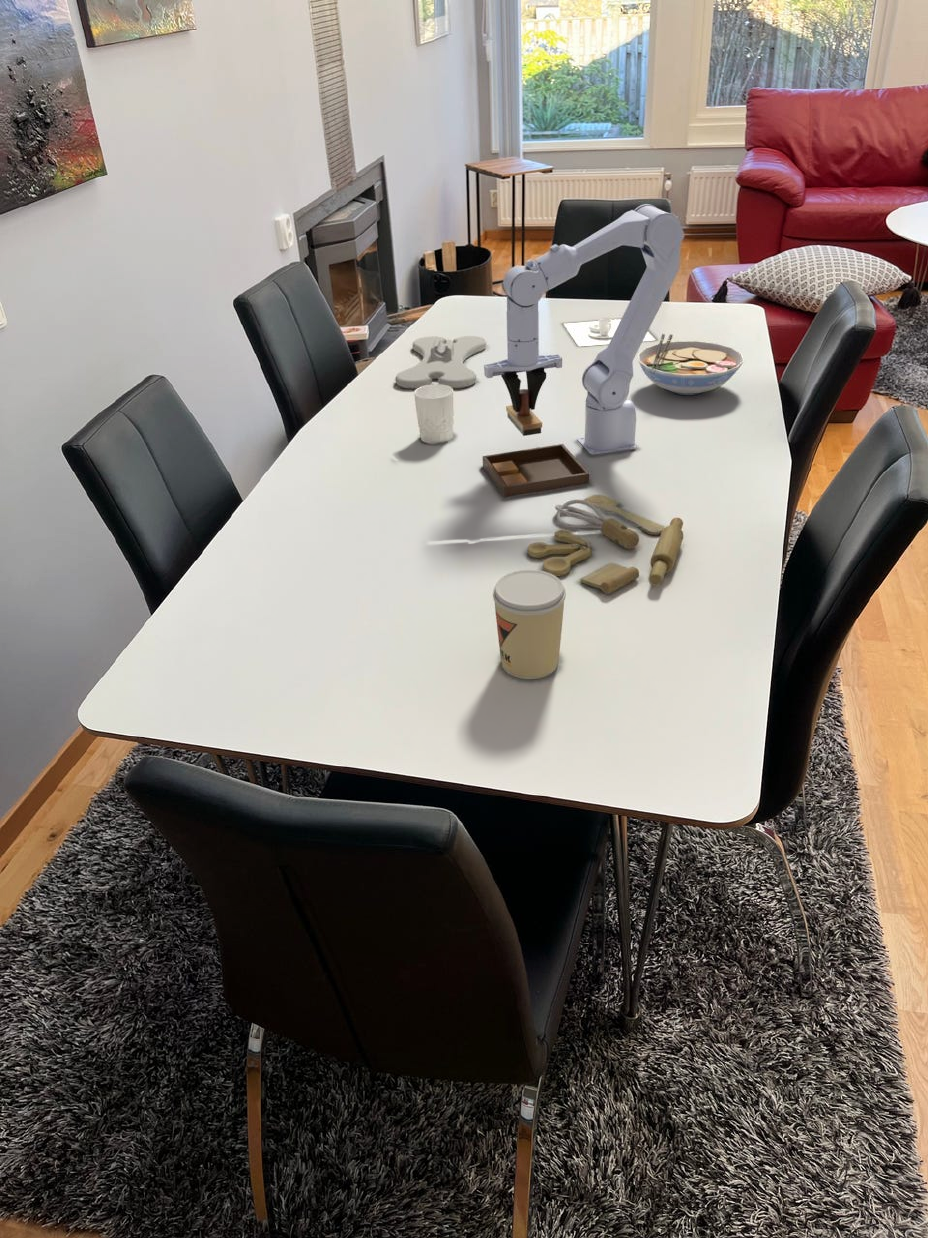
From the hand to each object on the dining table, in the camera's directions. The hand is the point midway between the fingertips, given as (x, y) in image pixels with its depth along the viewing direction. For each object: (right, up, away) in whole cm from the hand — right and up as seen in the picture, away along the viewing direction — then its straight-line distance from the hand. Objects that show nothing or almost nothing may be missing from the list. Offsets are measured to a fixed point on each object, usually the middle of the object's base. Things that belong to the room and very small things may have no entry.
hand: (523, 408), depth 174 cm
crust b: (-2, -15, -5) cm, 16 cm away
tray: (+2, -13, -2) cm, 13 cm away
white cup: (-17, -3, +16) cm, 23 cm away
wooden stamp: (0, -3, +2) cm, 3 cm away
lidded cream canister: (-2, -46, -49) cm, 67 cm away
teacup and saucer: (+27, +36, +69) cm, 82 cm away
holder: (-16, +23, +53) cm, 60 cm away
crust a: (-4, -12, -1) cm, 13 cm away
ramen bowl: (+39, +11, +31) cm, 51 cm away
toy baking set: (+12, -27, -23) cm, 38 cm away
